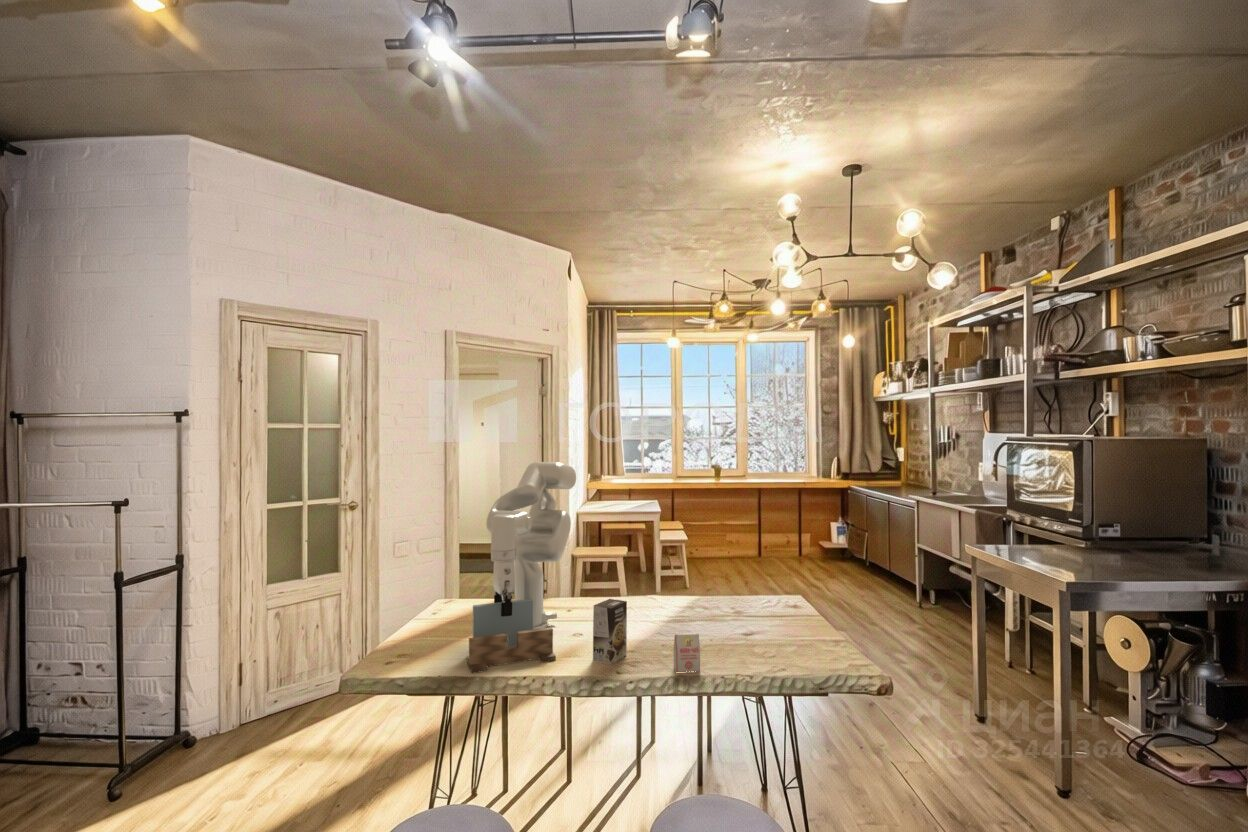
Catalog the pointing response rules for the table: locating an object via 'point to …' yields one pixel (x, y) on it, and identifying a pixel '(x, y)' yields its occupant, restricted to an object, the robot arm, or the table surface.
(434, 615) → the table surface
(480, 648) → the slotted board
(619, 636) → the coffee box
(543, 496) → the robot arm
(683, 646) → the white carton
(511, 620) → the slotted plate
